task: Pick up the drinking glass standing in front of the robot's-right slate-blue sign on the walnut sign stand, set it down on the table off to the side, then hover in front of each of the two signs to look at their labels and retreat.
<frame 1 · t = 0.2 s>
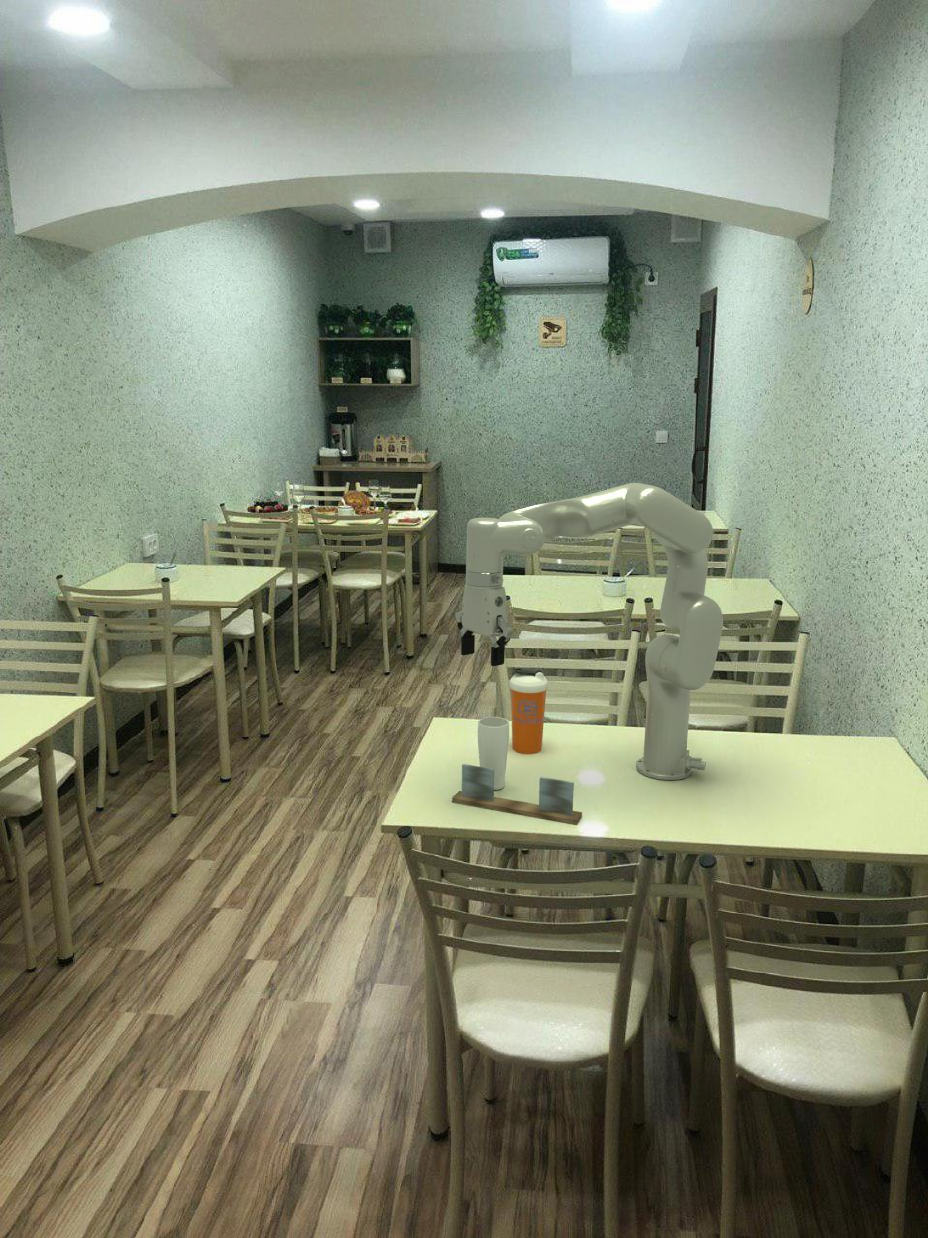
hand: (482, 659, 195), 30 cm above the table, tool pointing down, fingers open, 9 cm apart
shaker bottle: (527, 749, 227), on the table
sign stand: (515, 809, 194), on the table
drinking glass: (492, 787, 205), on the table
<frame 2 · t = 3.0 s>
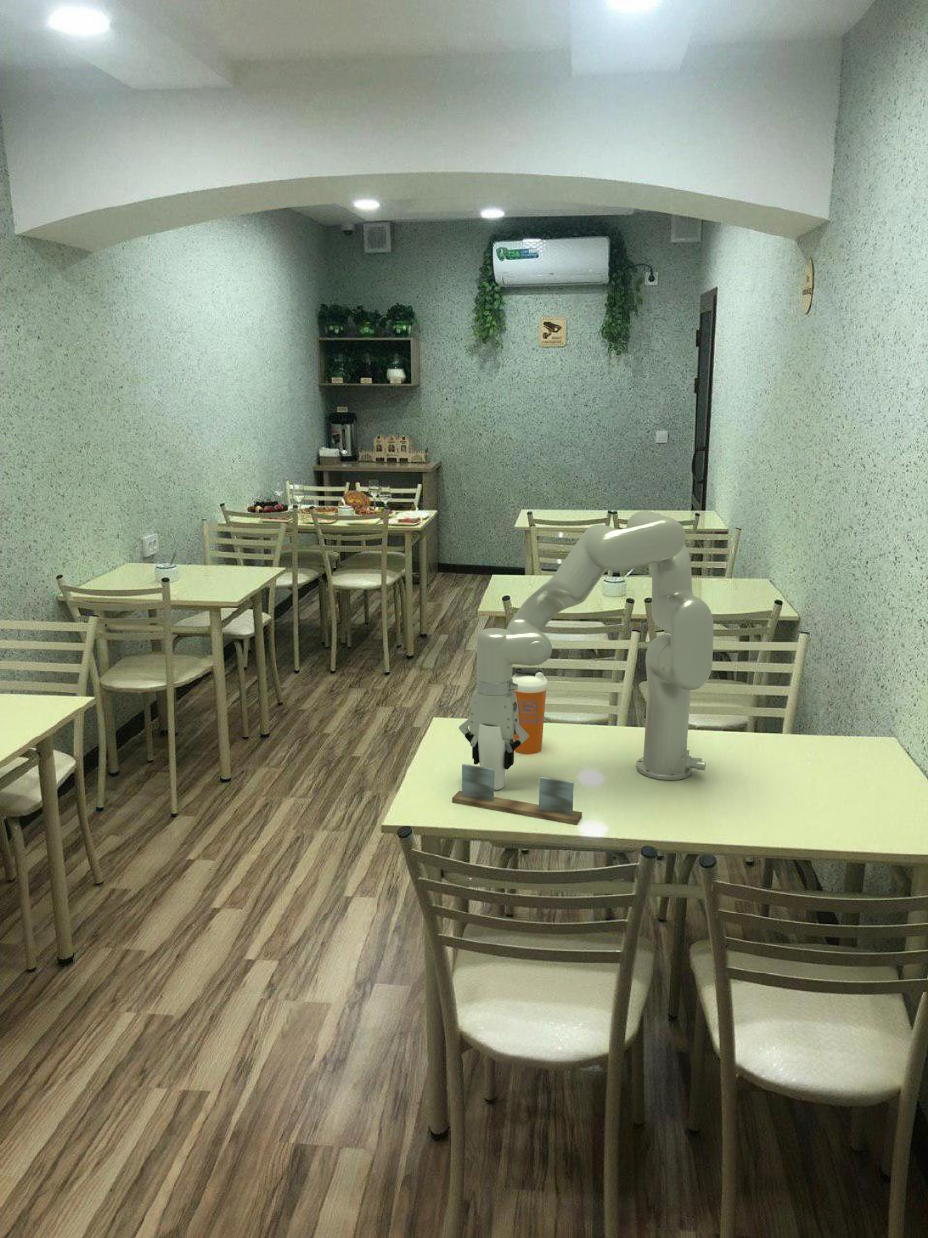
hand: (492, 764, 204), 5 cm above the table, tool pointing down, fingers closed on drinking glass, 6 cm apart
drinking glass: (492, 787, 205), on the table, touching gripper
everything else where it was.
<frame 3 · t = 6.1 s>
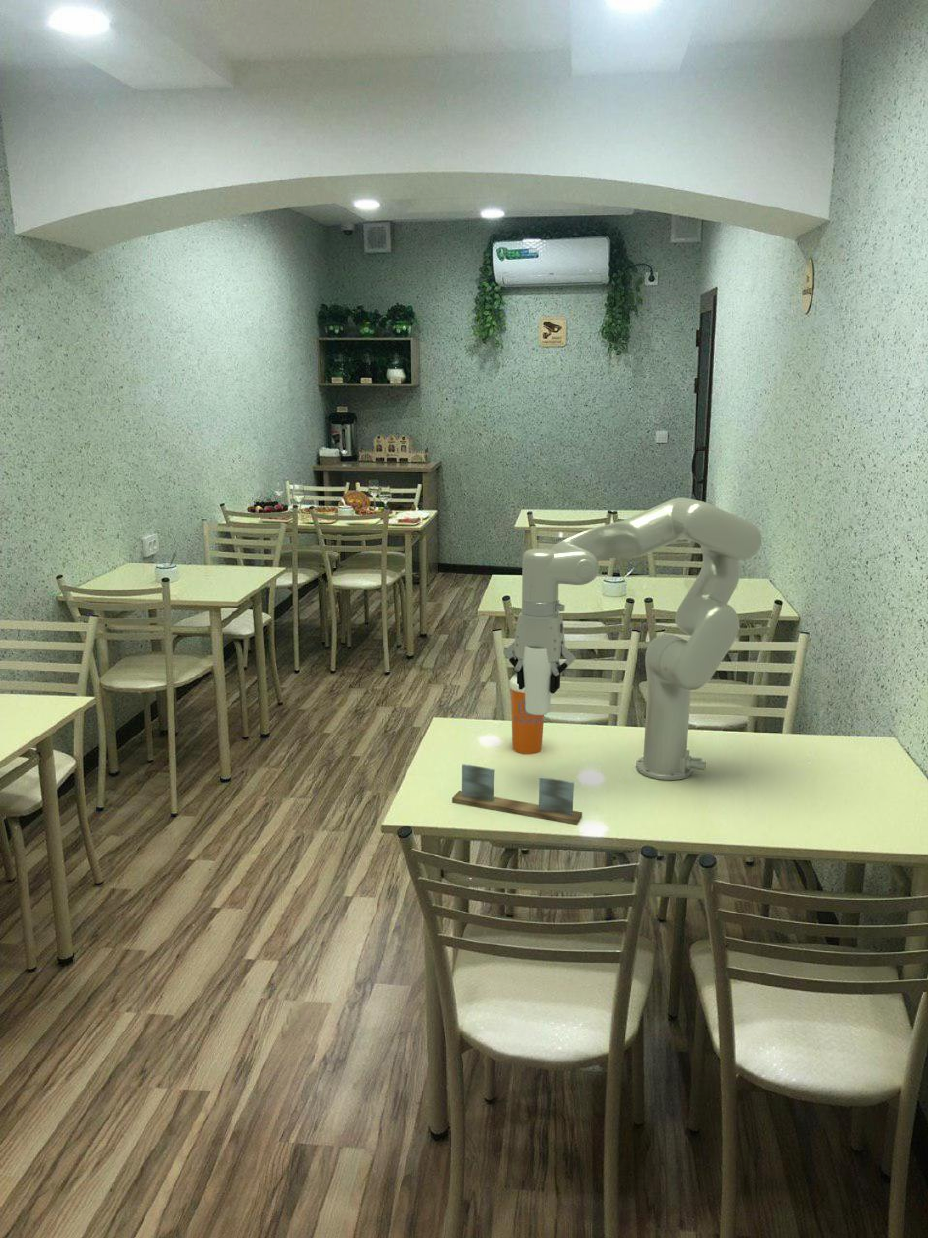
hand: (538, 689, 201), 22 cm above the table, tool pointing down, fingers closed on drinking glass, 6 cm apart
drinking glass: (537, 712, 202), point 17 cm above the table, touching gripper
everything else where it was.
when the fingers open (6 cm above the table, at t = 9.5 s): drinking glass drops 1 cm, on the table.
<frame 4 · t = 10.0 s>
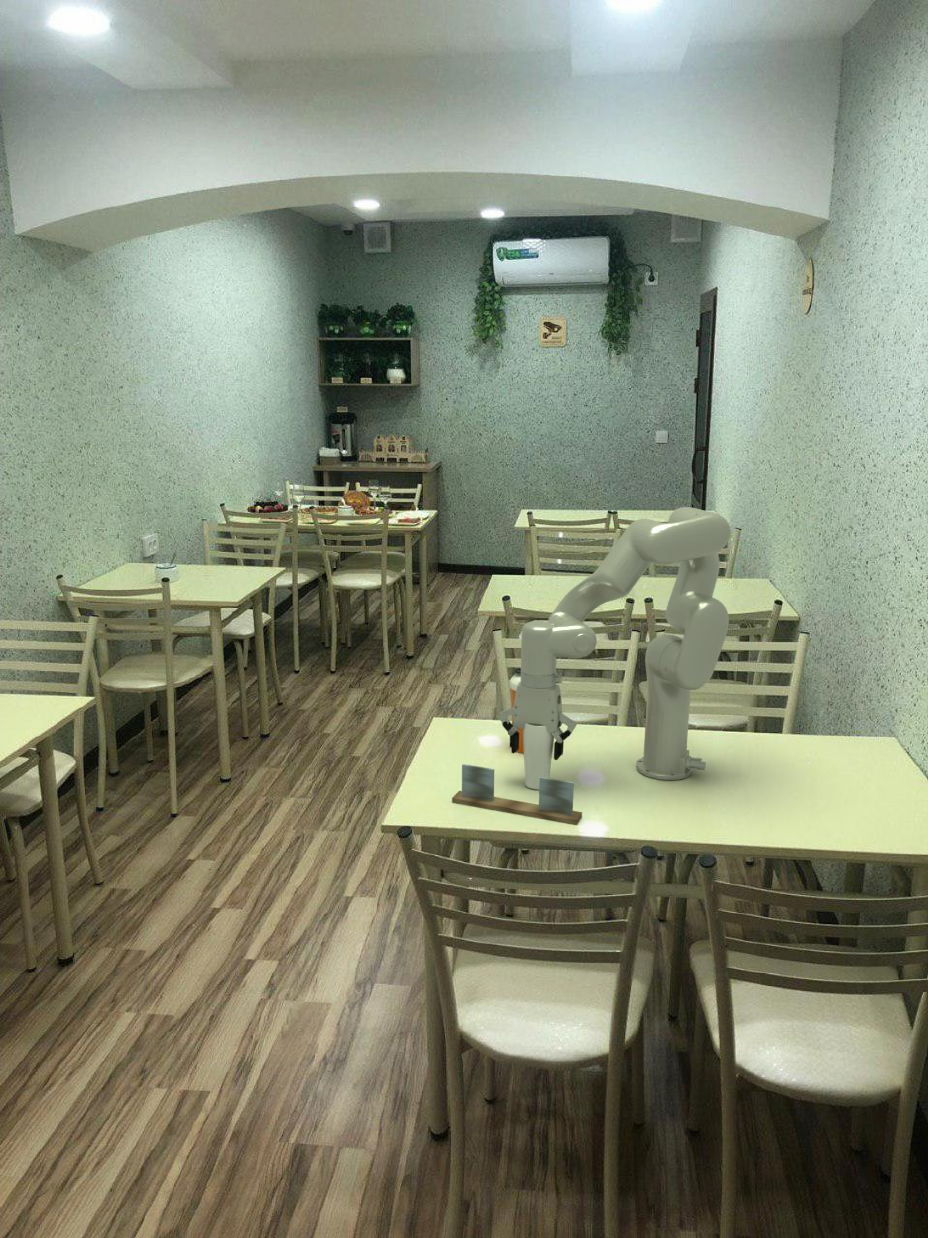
hand: (536, 754, 204), 7 cm above the table, tool pointing down, fingers open, 9 cm apart
drinking glass: (537, 786, 206), on the table
everything else where it was.
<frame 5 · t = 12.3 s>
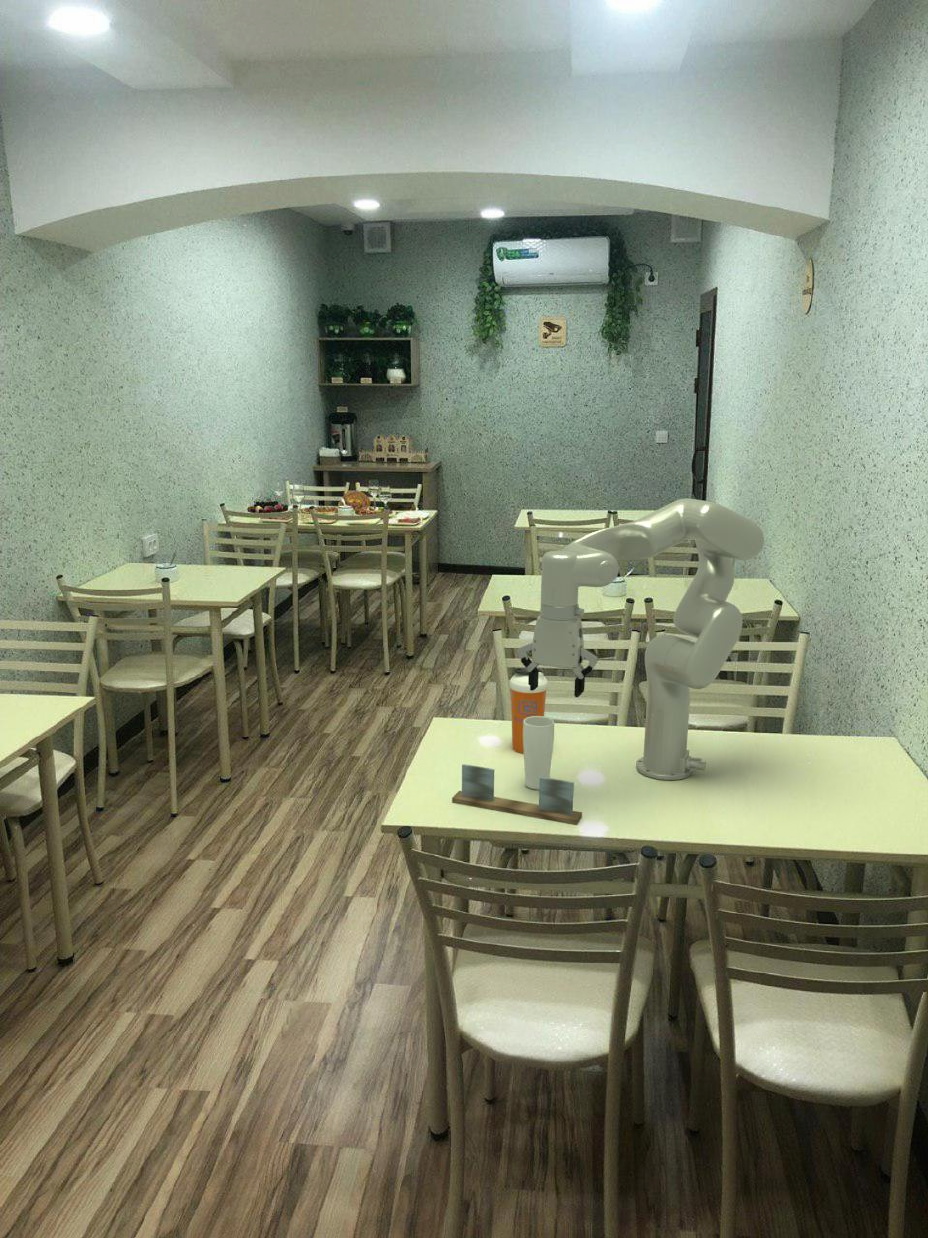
hand: (555, 692, 195), 23 cm above the table, tool pointing down, fingers open, 9 cm apart
nothing on the table moved.
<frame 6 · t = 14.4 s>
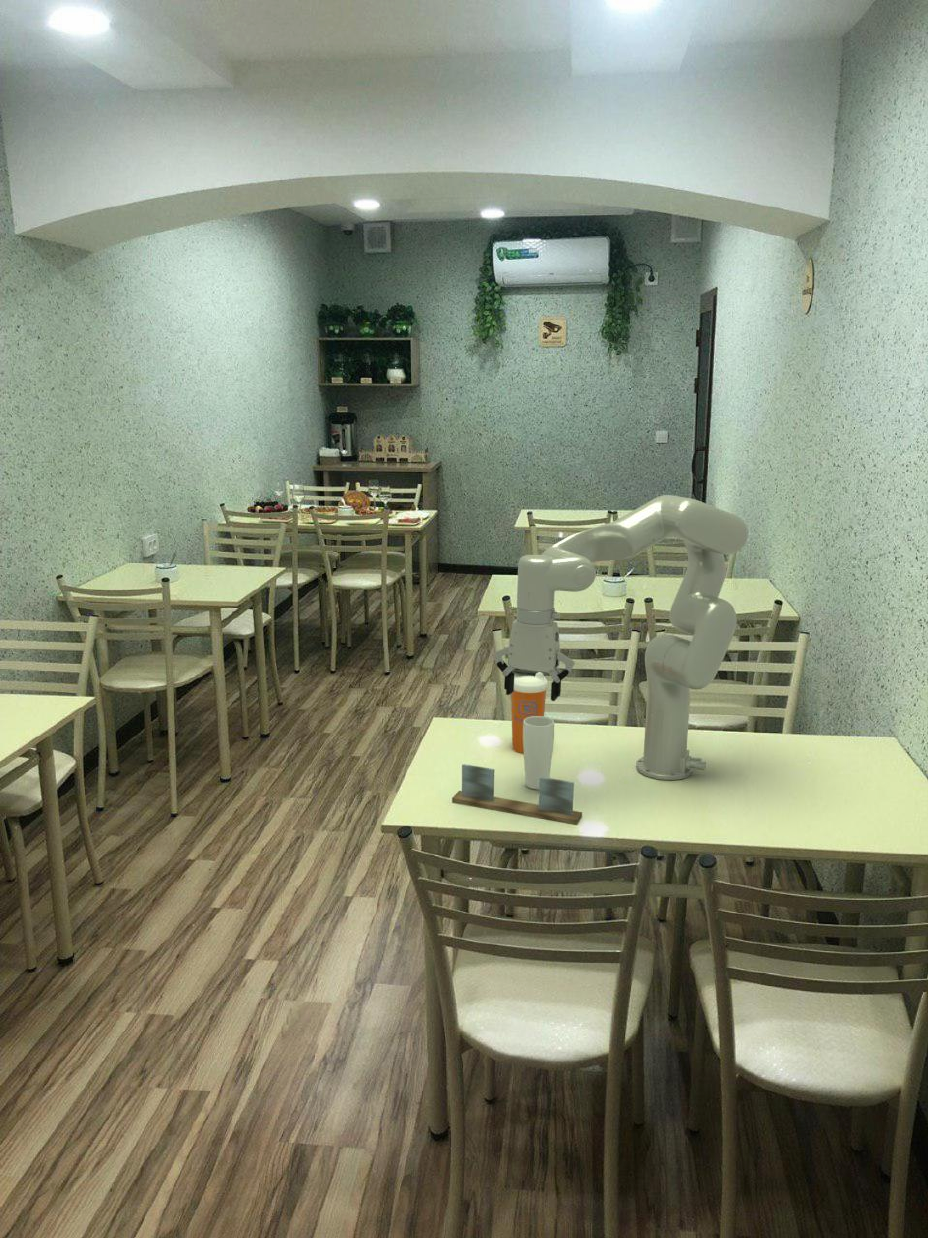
hand: (531, 696, 195), 23 cm above the table, tool pointing down, fingers open, 9 cm apart
nothing on the table moved.
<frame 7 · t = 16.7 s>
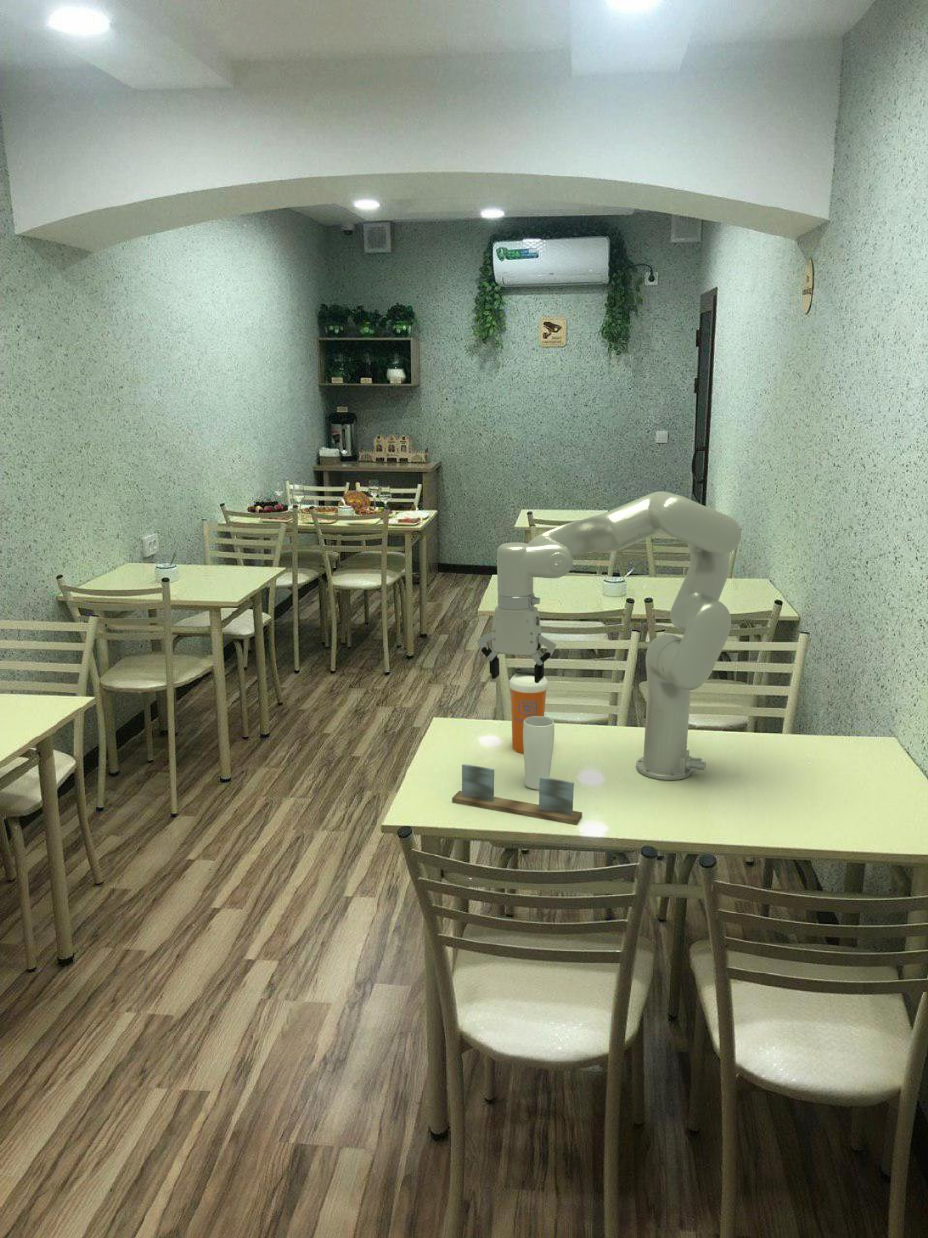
hand: (516, 679, 202), 24 cm above the table, tool pointing down, fingers open, 9 cm apart
nothing on the table moved.
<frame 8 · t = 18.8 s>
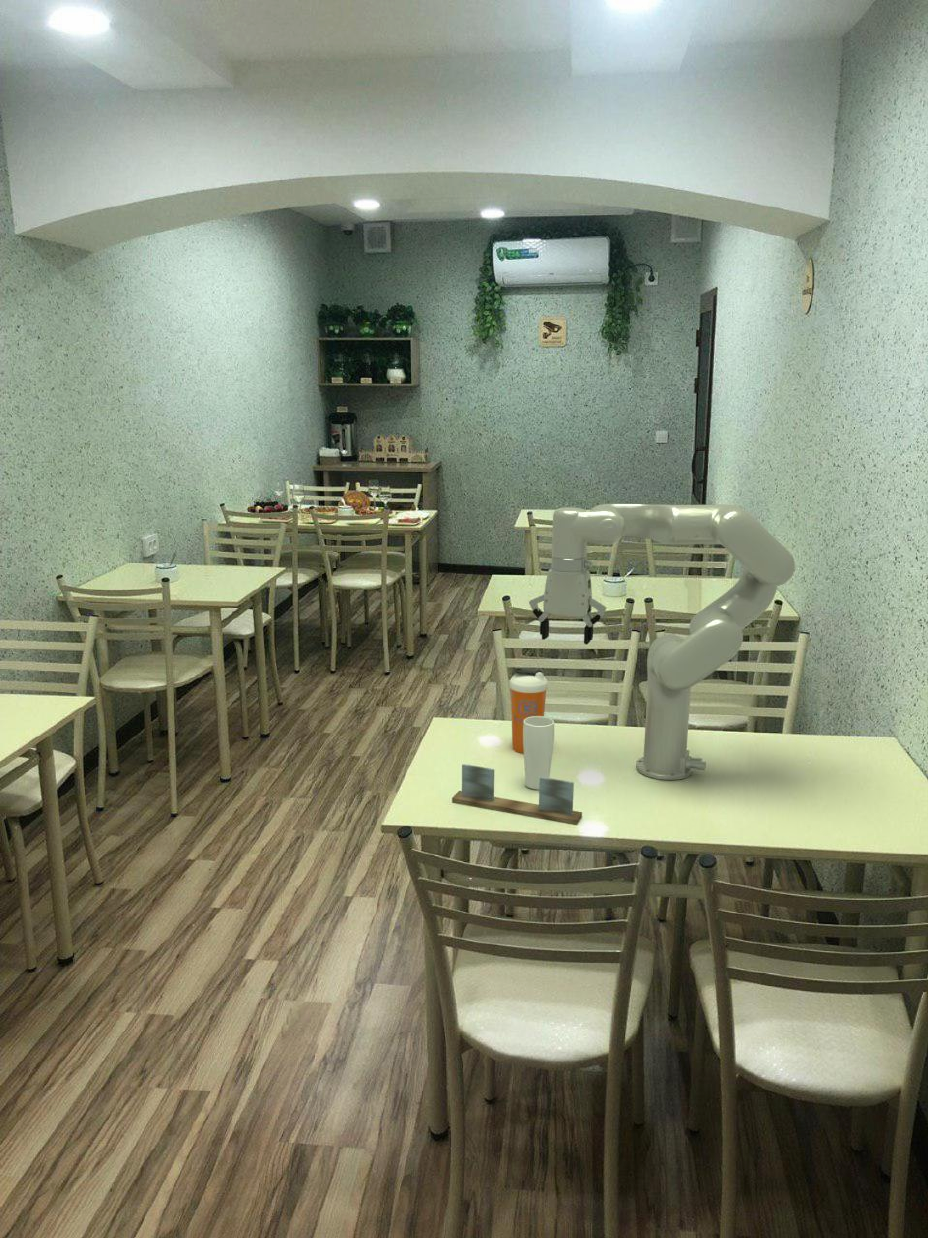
hand: (566, 640, 209), 30 cm above the table, tool pointing down, fingers open, 9 cm apart
nothing on the table moved.
at the end: drinking glass inside the target area (0.4 cm from its centre), on the table; drinking glass tilted 0°; the gripper is holding nothing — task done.
